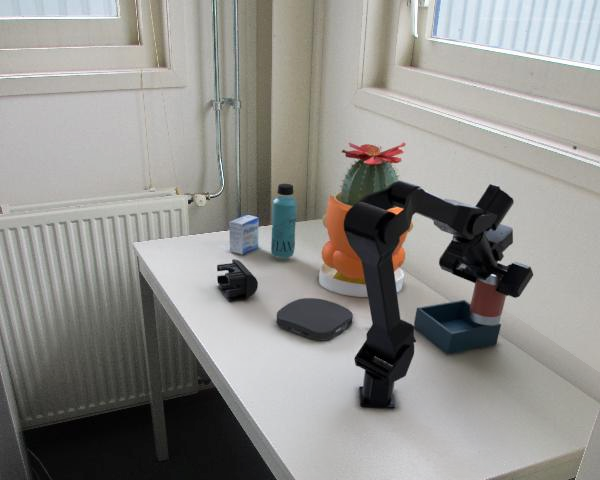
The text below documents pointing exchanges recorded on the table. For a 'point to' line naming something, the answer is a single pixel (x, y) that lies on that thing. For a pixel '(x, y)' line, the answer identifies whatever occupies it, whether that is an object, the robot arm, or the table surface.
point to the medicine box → (244, 234)
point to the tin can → (486, 301)
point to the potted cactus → (337, 252)
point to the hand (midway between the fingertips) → (494, 288)
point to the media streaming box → (314, 318)
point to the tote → (454, 327)
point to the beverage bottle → (283, 222)
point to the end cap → (236, 281)
